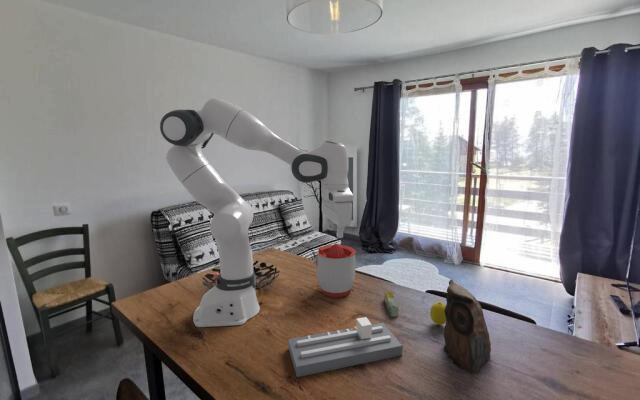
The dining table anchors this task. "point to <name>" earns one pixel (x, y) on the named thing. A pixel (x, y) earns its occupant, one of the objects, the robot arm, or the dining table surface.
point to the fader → (364, 328)
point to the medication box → (391, 304)
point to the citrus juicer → (335, 269)
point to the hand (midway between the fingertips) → (335, 233)
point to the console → (341, 349)
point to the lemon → (438, 313)
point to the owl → (465, 330)
